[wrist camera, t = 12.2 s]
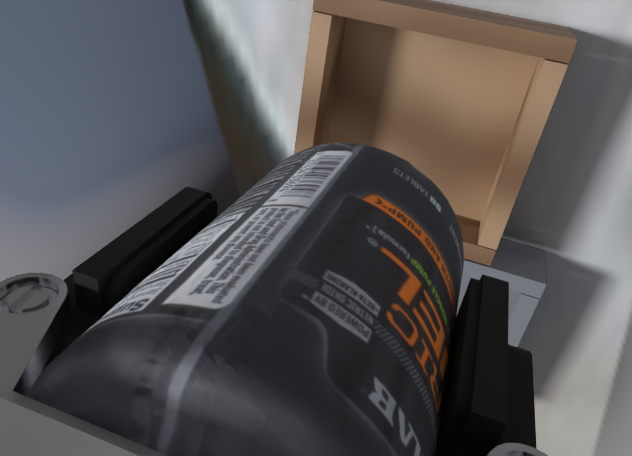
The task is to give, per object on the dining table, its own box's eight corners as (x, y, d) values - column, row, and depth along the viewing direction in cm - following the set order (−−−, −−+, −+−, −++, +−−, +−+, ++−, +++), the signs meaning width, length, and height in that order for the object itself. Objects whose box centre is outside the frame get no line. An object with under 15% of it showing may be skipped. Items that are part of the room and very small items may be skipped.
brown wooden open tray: (339, -17, 22) (315, -13, 20) (569, 27, 20) (578, 39, 18) (309, 180, 27) (287, 206, 25) (492, 232, 25) (490, 266, 23)
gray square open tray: (368, 201, 27) (351, 230, 24) (543, 250, 25) (547, 288, 22) (340, 327, 31) (323, 364, 28) (486, 377, 29) (483, 421, 27)
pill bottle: (491, 318, 14) (454, 1105, 4) (299, 340, 16) (8, 869, 7) (428, 106, 12) (115, 681, 2) (222, 168, 14) (-331, 567, 5)
